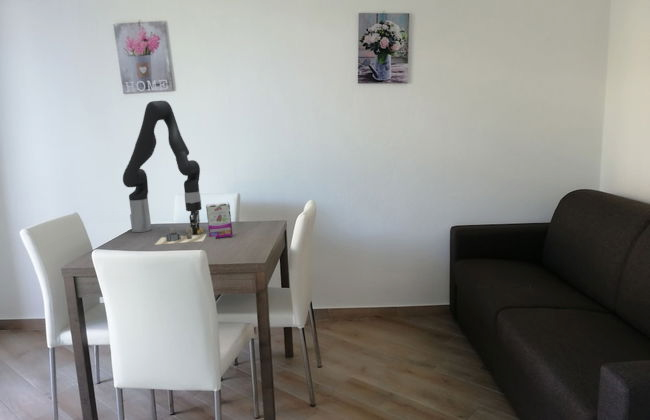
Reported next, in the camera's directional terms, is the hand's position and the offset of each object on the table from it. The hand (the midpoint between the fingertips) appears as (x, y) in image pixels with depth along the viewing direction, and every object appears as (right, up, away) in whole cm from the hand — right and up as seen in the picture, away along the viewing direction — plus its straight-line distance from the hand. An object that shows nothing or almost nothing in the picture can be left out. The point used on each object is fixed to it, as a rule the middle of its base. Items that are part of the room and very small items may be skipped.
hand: (196, 233), depth 235 cm
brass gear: (0, -1, 0) cm, 1 cm away
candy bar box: (+14, -2, -6) cm, 15 cm away
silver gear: (-7, -2, -13) cm, 15 cm away
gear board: (-4, -3, -12) cm, 13 cm away
